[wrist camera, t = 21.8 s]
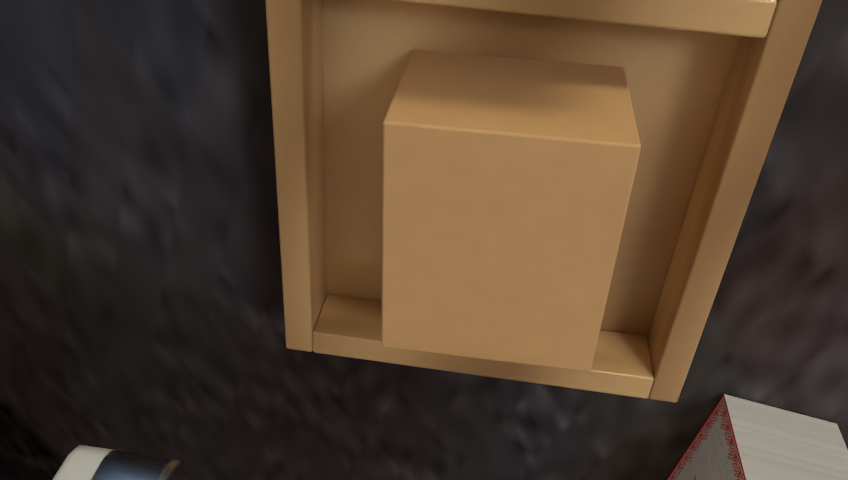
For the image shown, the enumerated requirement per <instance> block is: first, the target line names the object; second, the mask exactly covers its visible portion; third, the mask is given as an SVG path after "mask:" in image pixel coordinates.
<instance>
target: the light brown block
mask: <svg viewBox="0 0 848 480" xmlns="http://www.w3.org/2000/svg"><path fill="white" fill-rule="evenodd" d="M640 151H641V144H640V139H639V135H638V130H637V126H636V121H635V116H634V112H633V107H632V102H631V98H630V93H629V89H628V84H627V79H626V75H625V70H624V68H623V67H615V66H604V65H592V64H580V63H568V62H557V61H545V60H533V59H521V58H509V57H498V56H486V55H474V54H462V53H451V52H439V51H427V50H415V49H414V50H412V52H411V55H410V57H409V60H408V62H407V65H406V67H405V70H404V72H403V74H402V77H401V79H400V82H399V84H398V87H397V89H396V92H395V94H394V97H393V99H392V102H391V104H390V107H389V109H388V112H387V114H386V117H385V119H384V122H383V182H382V331H381V344H382V347H386V348H394V349H403V350H411V351H419V352H428V353H436V354H444V355H453V356H461V357H469V358H478V359H486V360H494V361H503V362H511V363H519V364H528V365H536V366H544V367H552V368H561V369H569V370H577V371H586V372H589V371H590V370H591V368H592V363H593V359H594V354H595V350H596V346H597V341H598V337H599V332H600V328H601V323H602V319H603V314H604V310H605V306H606V301H607V297H608V292H609V288H610V283H611V279H612V275H613V270H614V266H615V261H616V257H617V252H618V248H619V244H620V239H621V235H622V230H623V226H624V221H625V217H626V213H627V208H628V204H629V199H630V195H631V190H632V186H633V182H634V177H635V173H636V168H637V164H638V159H639V155H640Z"/></svg>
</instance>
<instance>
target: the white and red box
mask: <svg viewBox="0 0 848 480" xmlns="http://www.w3.org/2000/svg"><path fill="white" fill-rule="evenodd" d="M667 480H848V450H847V447H846V445H845V443H844V440H843V438H842V435H841V433H840V430H839V428H838V425H837V424H836V423H832V422H828V421H825V420H821V419H817V418H813V417H809V416H806V415H802V414H798V413H794V412H790V411H787V410H783V409H779V408H775V407H771V406H768V405H764V404H760V403H756V402H753V401H749V400H745V399H741V398H737V397H734V396H730V395H726V394H724V395H723V396H722V398H721V399H720V401H719V402H718V404H717V405H716V407H715V408H714V410H713V411H712V413H711V414H710V416H709V417H708V419H707V420H706V422H705V423H704V425H703V426H702V428H701V429H700V431H699V432H698V434H697V435H696V437H695V438H694V440H693V441H692V443H691V444H690V446H689V447H688V448H687V450H686V451H685V453H684V454H683V456H682V457H681V459H680V460H679V462H678V463H677V465H676V466H675V468H674V469H673V471H672V472H671V474H670V475H669V477H668V478H667Z"/></svg>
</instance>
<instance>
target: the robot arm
mask: <svg viewBox="0 0 848 480" xmlns="http://www.w3.org/2000/svg"><path fill="white" fill-rule="evenodd" d="M185 477H186V472H185V468H184V464H183V461H180V460H173V459H167V458H160V457H154V456H148V455H141V454H135V453H129V452H122V451H116V450H112V449H105V448H98V447H91V446H84V445H79V446H78V447H76V448H75V449H74V450H73V451H72V452H71V453H70V454H68V456H67V457H66V459H65V461H64V462H63V464H62V465H61V467H60V468H59V470H58V472H57V473H56V475H55V476H54V478H53V480H184V479H185Z"/></svg>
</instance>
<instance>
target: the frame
mask: <svg viewBox="0 0 848 480" xmlns="http://www.w3.org/2000/svg"><path fill="white" fill-rule="evenodd" d="M265 3H266V20H267V37H268V53H269V70H270V87H271V103H272V120H273V136H274V153H275V170H276V186H277V203H278V220H279V236H280V253H281V269H282V286H283V303H284V319H285V336H286V347H287V348H288V349H294V350H302V351H309V352H311V351H314V352H315V353H322V354H329V355H336V356H343V357H351V358H358V359H365V360H372V361H379V362H387V363H394V364H401V365H408V366H415V367H423V368H430V369H437V370H444V371H451V372H459V373H466V374H473V375H480V376H487V377H494V378H502V379H509V380H516V381H523V382H530V383H538V384H545V385H552V386H559V387H566V388H574V389H581V390H588V391H595V392H602V393H610V394H617V395H624V396H631V397H638V398H648V397H649V399H653V400H660V401H667V402H677V401H678V398H679V395H680V393H681V390H682V387H683V384H684V382H685V379H686V376H687V373H688V370H689V368H690V365H691V362H692V359H693V357H694V354H695V351H696V348H697V346H698V343H699V340H700V337H701V335H702V332H703V329H704V326H705V323H706V321H707V318H708V315H709V312H710V310H711V307H712V304H713V301H714V299H715V296H716V293H717V290H718V288H719V285H720V282H721V279H722V277H723V274H724V271H725V268H726V265H727V263H728V260H729V257H730V254H731V252H732V249H733V246H734V243H735V241H736V238H737V235H738V232H739V230H740V227H741V224H742V221H743V218H744V216H745V213H746V210H747V207H748V205H749V202H750V199H751V196H752V194H753V191H754V188H755V185H756V183H757V180H758V177H759V174H760V171H761V169H762V166H763V163H764V160H765V158H766V155H767V152H768V149H769V147H770V144H771V141H772V138H773V136H774V133H775V130H776V127H777V124H778V122H779V119H780V116H781V113H782V111H783V108H784V105H785V102H786V100H787V97H788V94H789V91H790V89H791V86H792V83H793V80H794V77H795V75H796V72H797V69H798V66H799V64H800V61H801V58H802V55H803V53H804V50H805V47H806V44H807V42H808V39H809V36H810V33H811V30H812V28H813V25H814V22H815V19H816V17H817V14H818V11H819V8H820V6H821V3H822V0H265ZM414 49H415V50H427V51H439V52H451V53H462V54H474V55H486V56H498V57H509V58H521V59H533V60H545V61H557V62H568V63H580V64H592V65H604V66H615V67H623V68H624V70H625V75H626V79H627V84H628V89H629V93H630V98H631V102H632V107H633V112H634V116H635V121H636V126H637V130H638V135H639V139H640V144H641V151H640V155H639V159H638V164H637V168H636V173H635V177H634V182H633V186H632V190H631V195H630V199H629V204H628V208H627V213H626V217H625V221H624V226H623V230H622V235H621V239H620V244H619V248H618V252H617V257H616V261H615V266H614V270H613V275H612V279H611V283H610V288H609V292H608V297H607V301H606V306H605V310H604V314H603V319H602V323H601V328H600V332H599V337H598V341H597V346H596V350H595V354H594V359H593V363H592V368H591V370H590V371H589V372H586V371H577V370H569V369H561V368H552V367H544V366H536V365H528V364H519V363H511V362H503V361H494V360H486V359H478V358H469V357H461V356H453V355H444V354H436V353H428V352H419V351H411V350H403V349H394V348H386V347H382V344H381V331H382V182H383V122H384V119H385V117H386V114H387V112H388V109H389V107H390V104H391V102H392V99H393V97H394V94H395V92H396V89H397V87H398V84H399V82H400V79H401V77H402V74H403V72H404V70H405V67H406V65H407V62H408V60H409V57H410V55H411V52H412V50H414Z"/></svg>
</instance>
